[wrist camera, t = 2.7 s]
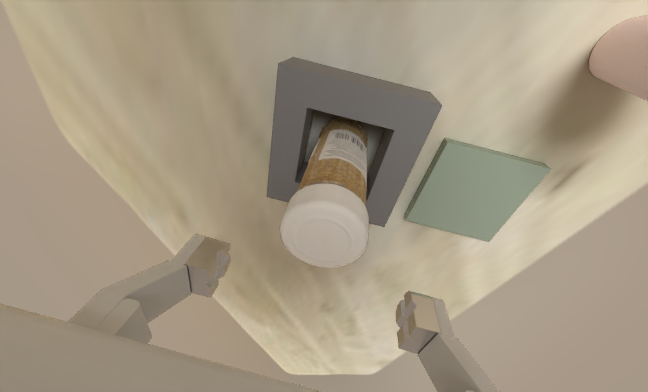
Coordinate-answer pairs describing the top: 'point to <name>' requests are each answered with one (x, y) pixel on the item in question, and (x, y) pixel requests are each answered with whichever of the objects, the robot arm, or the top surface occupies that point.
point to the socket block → (354, 103)
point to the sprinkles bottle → (331, 199)
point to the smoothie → (623, 56)
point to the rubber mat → (473, 189)
